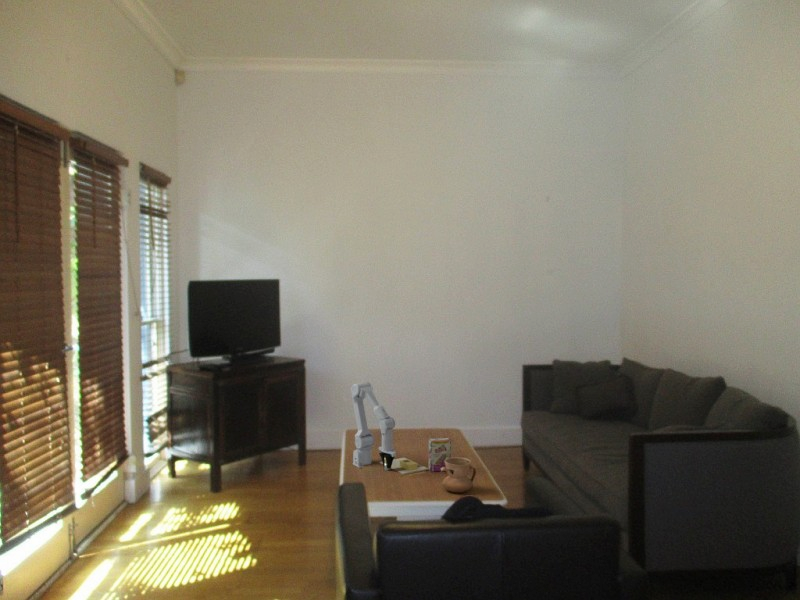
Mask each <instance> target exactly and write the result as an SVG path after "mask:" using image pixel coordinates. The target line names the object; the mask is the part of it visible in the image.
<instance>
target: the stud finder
mask: <svg viewBox="0 0 800 600" xmlns="http://www.w3.org/2000/svg"><path fill="white" fill-rule="evenodd" d="M406 459H407V460H401V461H400V467H402V468H404V469H406V470H408V471H410V470H415V469H417V464H418V463H417V462H416V461H413V460H411V461H410V459H408V458H406Z"/></svg>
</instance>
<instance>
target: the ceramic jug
mask: <svg viewBox="0 0 800 600" xmlns="http://www.w3.org/2000/svg"><path fill="white" fill-rule="evenodd" d="M445 465H446V468H445V467H442V468H441V471H440V472H447V474H448V475H447V476H446V477H445V478H443V479H442V483H441V486H442V488H444V489H445V490H446V491H448V492H451V493H466V492H468V491H470V490H472V488H473V486H474V483H473V481H474V480H475V478H476V475H477V468H476V467H475V466H474V465H472V461H471V460H470V459H468V458H466V457H461V456H460V457H458V456H457V457H451V458H448V459H446V460H445ZM470 470H473V471H472V475H471V477H470V478H469V477H468V476H467V475H468V473H469V471H470Z"/></svg>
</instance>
